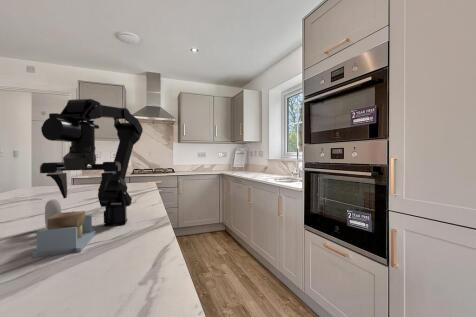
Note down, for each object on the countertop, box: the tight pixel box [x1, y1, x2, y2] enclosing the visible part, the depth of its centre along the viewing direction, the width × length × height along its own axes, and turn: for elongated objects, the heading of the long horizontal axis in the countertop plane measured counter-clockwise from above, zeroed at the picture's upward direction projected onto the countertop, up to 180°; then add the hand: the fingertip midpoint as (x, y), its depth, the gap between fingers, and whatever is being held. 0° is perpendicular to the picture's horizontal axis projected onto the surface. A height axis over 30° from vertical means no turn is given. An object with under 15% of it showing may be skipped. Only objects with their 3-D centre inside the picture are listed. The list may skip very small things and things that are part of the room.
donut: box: [44, 199, 62, 230], centre depth 75 cm, size 10×4×10 cm, turn 46°
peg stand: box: [31, 214, 97, 258], centre depth 63 cm, size 10×14×6 cm
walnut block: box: [47, 210, 86, 229], centre depth 63 cm, size 6×6×3 cm
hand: (83, 197), depth 67 cm, fingers open, 9 cm apart
